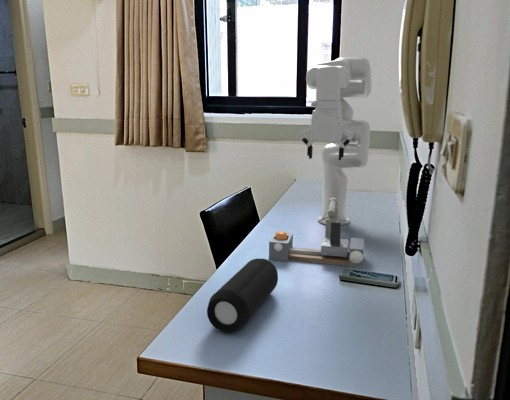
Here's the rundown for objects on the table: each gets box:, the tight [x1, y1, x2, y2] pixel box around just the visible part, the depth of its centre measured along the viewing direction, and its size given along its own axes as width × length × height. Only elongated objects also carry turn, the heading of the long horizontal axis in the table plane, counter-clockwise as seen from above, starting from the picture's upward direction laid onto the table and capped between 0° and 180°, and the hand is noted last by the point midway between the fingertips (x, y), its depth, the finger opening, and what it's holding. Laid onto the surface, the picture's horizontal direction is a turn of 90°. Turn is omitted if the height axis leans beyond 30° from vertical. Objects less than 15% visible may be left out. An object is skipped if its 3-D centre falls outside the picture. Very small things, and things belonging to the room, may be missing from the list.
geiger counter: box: [318, 197, 339, 238], centre depth 166 cm, size 14×6×25 cm
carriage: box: [320, 220, 350, 257], centre depth 146 cm, size 8×8×10 cm
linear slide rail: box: [268, 231, 365, 269], centre depth 148 cm, size 10×29×6 cm, turn 77°
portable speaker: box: [206, 258, 279, 333], centre depth 114 cm, size 26×10×10 cm, turn 159°
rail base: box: [288, 246, 350, 267], centre depth 149 cm, size 8×29×2 cm, turn 77°
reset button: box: [275, 230, 288, 240], centre depth 150 cm, size 4×4×4 cm
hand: (325, 158), depth 153 cm, fingers open, 9 cm apart
